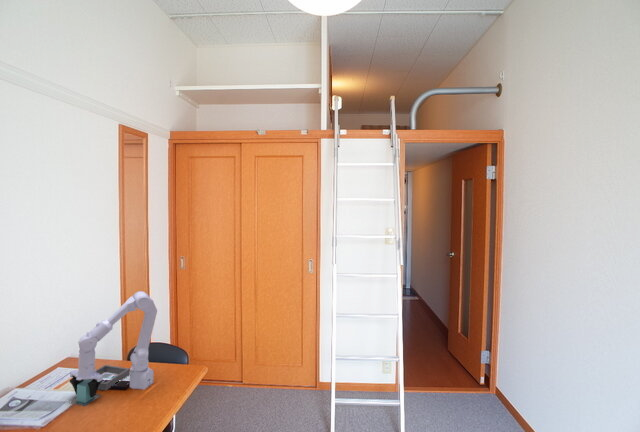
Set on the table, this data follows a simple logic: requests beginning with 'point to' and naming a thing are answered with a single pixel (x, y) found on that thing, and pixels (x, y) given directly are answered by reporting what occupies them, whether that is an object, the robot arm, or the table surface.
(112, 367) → the bin
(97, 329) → the robot arm
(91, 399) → the stud plate
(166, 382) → the table surface
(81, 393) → the socket block
